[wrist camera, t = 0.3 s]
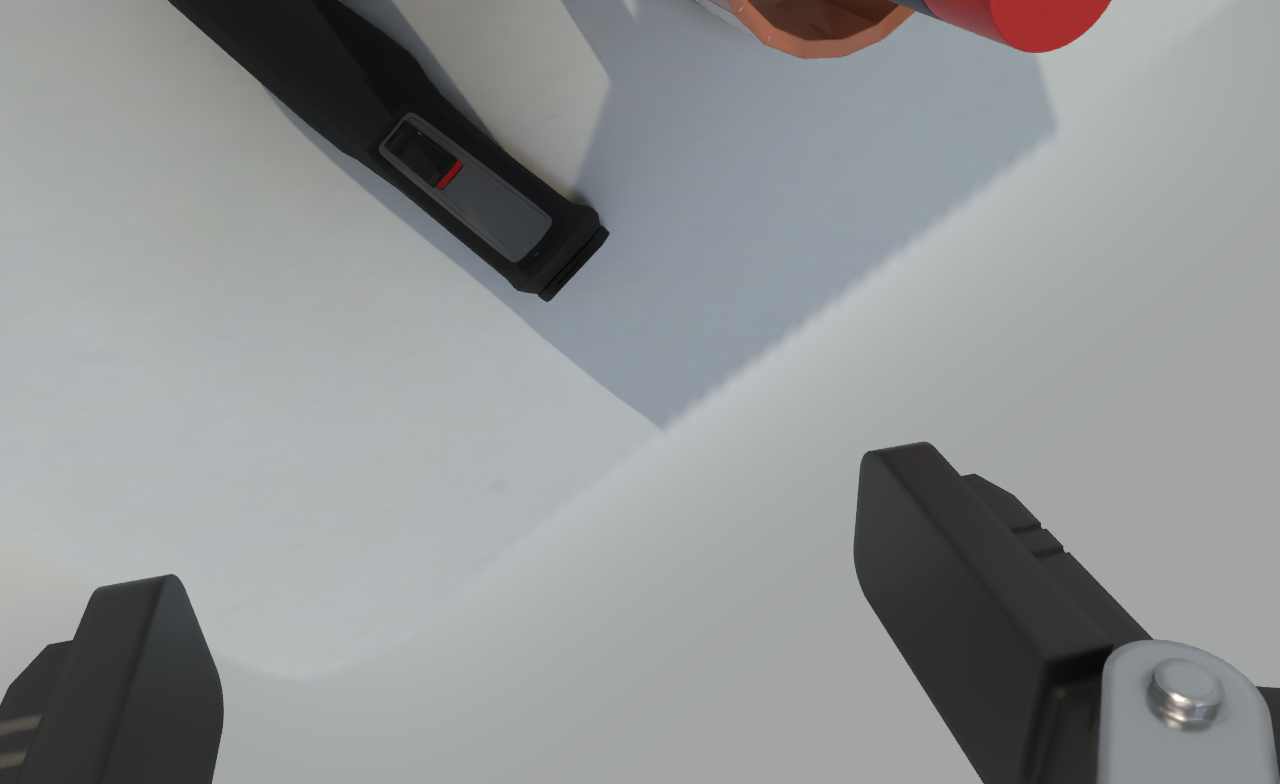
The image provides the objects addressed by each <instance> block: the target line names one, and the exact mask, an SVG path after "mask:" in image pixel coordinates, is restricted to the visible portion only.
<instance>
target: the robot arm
mask: <svg viewBox="0 0 1280 784" xmlns="http://www.w3.org/2000/svg"><path fill="white" fill-rule="evenodd" d="M854 562H855V568H856V573H857V576H858V580H859V583H860V586H861V588H862V591H863V593H864V595H865V597H866V599H867V600H868V602H869V604H870V605H871V607H872V608H873V610H874V611H875V613H876V615H877V616H878V618H879V619H880V621H881V623H882V624H883V626H884V627H885V629H886V630H887V632H888V634H889V635H890V637H891V638H892V640H893V641H894V643H895V644H896V646H897V648H898V649H899V651H900V652H901V654H902V656H903V657H904V659H905V660H906V662H907V663H908V665H909V666H910V668H911V670H912V671H913V673H914V674H915V676H916V678H917V679H918V681H919V682H920V684H921V686H922V687H923V689H924V690H925V692H926V693H927V695H928V697H929V698H930V700H931V701H932V703H933V704H934V706H935V708H936V709H937V711H938V712H939V714H940V715H941V717H942V719H943V720H944V722H945V723H946V725H947V726H948V728H949V730H950V731H951V733H952V734H953V736H954V737H955V739H956V741H957V742H958V744H959V745H960V747H961V749H962V750H963V752H964V753H965V755H966V756H967V758H968V760H969V761H970V763H971V764H972V766H973V767H974V769H975V771H976V772H977V774H978V775H979V777H980V778H981V780H982V782H983V783H984V784H1280V688H1270V687H1257V686H1255V685H1254V684H1253V683H1252V682H1251V681H1250V680H1249V679H1248V678H1247V677H1246V676H1245V675H1243V674H1242V673H1241V672H1240V671H1239V670H1237V669H1236V668H1235V667H1233V666H1232V665H1230V664H1229V663H1227V662H1226V661H1224V660H1222V659H1220V658H1219V657H1217V656H1215V655H1212V654H1211V653H1209V652H1206V651H1204V650H1201V649H1199V648H1196V647H1193V646H1190V645H1186V644H1182V643H1178V642H1173V641H1167V640H1154V639H1153V638H1151V636H1150V635H1149V634H1148V633H1147V632H1146V631H1145V630H1144V629H1143V628H1142V627H1141V626H1140V625H1139V624H1138V623H1137V622H1136V621H1135V620H1134V619H1133V618H1132V617H1131V616H1130V615H1129V614H1128V613H1127V612H1126V611H1125V609H1123V608H1122V606H1121V605H1120V604H1119V603H1118V602H1117V601H1116V600H1115V599H1114V598H1113V597H1112V596H1111V595H1110V594H1109V593H1108V592H1107V591H1106V590H1105V589H1104V588H1103V587H1102V586H1101V585H1100V584H1099V583H1098V582H1097V581H1096V580H1095V579H1094V577H1093V576H1092V575H1090V573H1089V572H1088V571H1087V570H1085V568H1084V567H1083V566H1082V565H1081V564H1080V563H1079V562H1078V561H1077V560H1076V559H1075V558H1074V557H1073V556H1072V555H1071V554H1070V553H1069V552H1068V553H1065V552H1064V550H1063V545H1061V543H1060V542H1059V541H1057V539H1056V538H1055V537H1054V536H1053V535H1052V534H1051V533H1050V532H1049V531H1048V530H1047V529H1042V528H1041V523H1040V522H1039V521H1038V520H1037V519H1036V518H1035V517H1034V516H1033V515H1032V514H1031V512H1030V511H1029V510H1028V509H1027V508H1026V507H1025V506H1024V505H1023V504H1022V503H1021V502H1020V501H1019V500H1018V499H1017V498H1016V497H1015V496H1014V495H1013V494H1011V493H1009V492H1007V491H1005V490H1004V489H1002V488H1000V487H998V486H996V485H994V484H993V483H991V482H989V481H987V480H985V479H984V478H982V477H980V476H978V475H976V474H971V475H966V476H960V475H959V473H958V472H957V471H956V470H955V469H954V468H953V467H952V466H951V465H950V464H949V462H948V461H947V460H946V459H945V458H944V457H943V456H942V455H941V454H940V453H939V452H938V451H937V449H936V448H935V447H934V446H933V445H931V444H930V443H928V442H919V443H913V444H907V445H901V446H896V447H890V448H885V449H879V450H874V451H868V452H867V453H866V454H865V455H864V456H863V458H862V461H861V466H860V476H859V488H858V500H857V512H856V524H855V536H854ZM223 711H224V707H223V694H222V687H221V682H220V678H219V674H218V671H217V668H216V666H215V663H214V661H213V658H212V656H211V653H210V651H209V648H208V646H207V643H206V641H205V638H204V636H203V633H202V631H201V628H200V626H199V623H198V621H197V618H196V615H195V613H194V610H193V608H192V605H191V603H190V600H189V598H188V595H187V593H186V590H185V588H184V586H183V584H182V582H181V581H180V579H179V578H178V577H177V576H175V575H173V574H170V575H164V576H158V577H153V578H147V579H142V580H136V581H130V582H125V583H119V584H114V585H108V586H102V587H99V588H97V589H96V590H95V591H94V592H93V594H92V596H91V598H90V600H89V602H88V605H87V607H86V610H85V612H84V615H83V617H82V619H81V622H80V624H79V627H78V629H77V632H76V634H75V636H74V639H73V640H71V641H65V642H60V643H55V644H50V645H47V646H46V647H45V648H44V650H43V651H42V652H41V653H40V654H39V655H38V656H37V657H36V658H35V659H34V660H33V661H32V662H31V663H30V664H29V666H28V667H27V668H26V669H25V670H24V671H23V672H22V673H21V674H20V675H19V676H18V677H17V678H16V679H15V680H14V681H13V683H12V684H11V685H10V686H9V688H8V690H7V692H6V694H5V696H4V698H3V701H2V703H1V705H0V784H212V779H213V774H214V769H215V764H216V759H217V754H218V748H219V743H220V739H221V734H222V728H223V715H224V712H223Z"/></svg>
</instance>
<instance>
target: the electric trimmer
mask: <svg viewBox="0 0 1280 784" xmlns="http://www.w3.org/2000/svg"><path fill="white" fill-rule="evenodd" d="M168 1H169V2H170V3H171V4H172V5H173V6H175V7H176V8H177V9H178V10H179V11H180V12H181V13H182V14H184V15H185V16H186V17H187V18H188V19H189V20H190V21H192V22H193V23H194V24H195V25H196V26H197V27H198V28H199V29H201V30H202V31H203V32H204V33H205V34H206V35H207V36H209V37H210V38H211V39H212V40H213V41H214V42H215V43H217V44H218V45H219V46H220V47H221V48H222V49H223V50H224V51H226V52H227V53H228V54H229V55H230V56H231V57H232V58H234V59H235V60H236V61H237V62H238V63H239V64H240V65H241V66H243V67H244V68H245V69H246V70H247V71H248V72H249V73H251V74H252V75H253V76H254V77H255V78H256V79H257V80H258V81H260V82H261V83H262V84H263V85H264V86H265V87H266V88H268V89H269V90H270V91H271V92H272V93H273V94H274V95H275V96H277V97H278V98H279V99H280V100H281V101H282V102H283V103H285V104H286V105H287V106H288V107H289V108H290V109H291V110H292V111H294V112H295V113H296V114H297V115H298V116H299V117H300V118H302V119H303V120H304V121H305V122H306V123H307V124H308V125H309V126H311V127H312V128H313V129H314V130H316V131H317V132H318V133H319V134H321V135H322V136H323V137H324V138H326V139H327V140H328V141H329V142H331V143H332V144H333V145H334V146H336V147H337V148H338V149H339V150H341V151H342V152H343V153H345V154H347V155H349V156H351V157H353V158H355V159H357V160H358V161H360V162H361V163H362V164H364V165H365V166H367V167H368V168H369V169H371V170H372V171H374V172H375V173H376V174H378V175H379V176H381V177H382V178H383V179H385V180H386V181H388V182H389V183H390V184H392V185H393V186H394V187H396V188H397V189H399V190H400V191H401V192H402V193H403V194H405V195H406V196H407V197H408V198H409V199H411V200H412V201H413V202H414V203H416V204H417V205H418V206H419V207H420V208H422V209H423V210H424V211H425V212H426V213H428V214H429V215H430V216H431V217H432V218H434V219H435V220H436V221H437V222H438V223H440V224H441V225H442V226H443V227H444V228H446V229H447V230H448V231H449V232H450V233H452V234H453V235H454V236H455V237H457V238H458V239H459V240H460V241H461V242H463V243H464V244H465V245H466V246H467V247H469V248H470V249H471V250H472V251H473V252H475V253H476V254H477V255H478V256H479V257H481V258H482V259H483V260H484V261H485V262H487V263H488V264H489V265H490V266H491V267H493V268H494V269H495V270H496V271H498V272H499V273H500V274H501V275H502V276H504V277H505V278H506V279H507V280H508V281H509V282H510V283H511V285H512V286H513V287H514V288H515V289H516V290H518V291H522V292H526V293H534V294H538V296H539V297H540V298H542V299H543V300H544V301H546V302H548V301H550V300H551V299H552V298H553V297H554V296H555V295H556V294H557V293H558V292H559V291H560V290H561V288H562V287H563V286H564V285H565V284H566V283H567V282H568V281H569V280H570V279H571V278H572V277H573V276H574V275H575V274H576V273H577V271H578V270H579V269H580V268H581V267H582V266H583V265H584V264H585V263H586V262H587V261H588V260H589V259H590V258H591V257H592V255H593V254H594V253H595V252H596V251H597V250H598V249H599V248H600V247H601V246H602V245H603V243H604V242H605V240H606V239H607V237H608V236H609V233H610V232H609V231H608V230H606V229H605V228H604V227H603V226H600V222H599V215H598V213H597V212H596V211H595V210H594V209H593V208H591V207H589V206H582V205H578V204H574V203H571V202H570V201H568V200H567V199H565V198H564V197H563V196H561V195H560V194H559V193H557V192H556V191H555V190H554V189H552V188H551V187H550V186H548V185H547V184H546V183H544V182H543V181H542V180H541V179H539V178H538V177H537V176H535V175H534V174H533V173H531V172H530V171H529V170H528V169H526V168H525V167H524V166H522V165H521V164H520V163H518V162H517V161H516V160H515V159H513V158H512V157H511V156H510V155H509V154H507V153H506V152H505V151H504V150H502V149H501V148H500V147H499V146H498V145H496V144H495V143H494V142H493V141H491V140H490V139H489V138H488V137H487V136H485V135H484V134H483V133H482V132H481V131H479V130H478V129H477V128H476V127H475V126H474V125H473V124H472V123H471V122H470V121H469V120H468V119H466V118H465V117H464V116H463V115H462V114H461V113H460V112H459V111H458V110H457V109H456V108H455V107H454V106H452V105H451V104H450V103H449V102H448V101H447V100H446V99H445V98H444V97H443V96H442V95H441V94H440V93H439V91H438V90H437V89H436V88H435V86H434V85H433V84H432V83H431V82H430V80H429V79H428V78H427V76H426V74H425V73H424V71H423V69H422V68H421V66H420V65H419V63H418V62H417V60H416V59H415V58H414V57H413V56H412V55H411V54H410V53H409V52H408V51H406V50H405V49H404V48H402V47H401V46H400V45H399V44H397V43H396V42H395V41H394V40H392V39H391V38H390V37H388V36H387V35H386V34H385V33H383V32H382V31H380V30H379V29H377V28H376V27H375V26H373V25H372V24H370V23H369V22H367V21H366V20H365V19H363V18H362V17H360V16H359V15H357V14H356V13H355V12H353V11H352V10H350V9H349V8H348V7H346V6H345V5H343V4H342V3H340V2H339V1H338V0H168Z"/></svg>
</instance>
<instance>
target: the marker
mask: <svg viewBox="0 0 1280 784" xmlns="http://www.w3.org/2000/svg"><path fill="white" fill-rule="evenodd" d="M889 1H891V2H894V3H897V4H899V5H902V6H904V7H907V8H910V9H912V10H915V11H918V12H920V13H923V14H926V15H928V16H931V17H933V18H936V19H939V20H941V21H944V22H947V23H949V24H952V25H955V26H957V27H960V28H962V29H965V30H968V31H970V32H973V33H976V34H978V35H981V36H984V37H986V38H989V39H991V40H994V41H997V42H999V43H1002V44H1005V45H1007V46H1010V47H1013V48H1015V49H1018V50H1021V51H1024V52H1030V53H1042V52H1048V51H1052V50H1055V49H1058V48H1061V47H1063V46H1065V45H1067V44H1069V43H1071V42H1072V41H1074V40H1076V39H1077V38H1079V37H1080V36H1081V35H1083V34H1084V33H1085V32H1086V31H1087V30H1088V29H1089V28H1090V27H1092V26H1093V24H1094V23H1095V22H1096V21H1097V20H1098V19H1099V18H1100V16H1101V15H1102V14H1103V12H1104V11H1105V10H1106V8H1107V7H1108V5H1109V3H1110V2H1111V0H889Z"/></svg>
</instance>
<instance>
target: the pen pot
mask: <svg viewBox="0 0 1280 784" xmlns="http://www.w3.org/2000/svg"><path fill="white" fill-rule="evenodd" d="M695 1H696V2H698V3H699V4H700V5H701V6H702V7H703V8H704V9H706V10H707V11H709V12H710V13H712V14H714V15H716V16H717V17H719V18H721V19H722V20H724V21H726V22H727V23H729V24H731V25H732V26H734V27H736V28H738V29H739V30H741V31H743V32H744V33H746V34H748V35H749V36H751V37H753V38H755V39H756V40H758V41H760V42H761V43H763V44H765V45H767V46H769V47H772V48H775V49H777V50H780V51H782V52H785V53H787V54H790V55H793V56H795V57H798V58H802V59H815V58H840V57H842V56H847V55H849V54H851V53H854V52H856V51H858V50H861V49H863V48H865V47H867V46H870V45H872V44H874V43H877V42H879V41H881V40H882V39H885V38H886V37H887V36H888V35H889V34H890V33H892V32H893V31H894V30H895V29H896V28H897V27H898V26H900V25H901V24H902V23H903V22H904V21H905V20H906V19H908V18H909V17H910V16H911V15H912V14H913V13H914V12H916V11H915V10H912V9H910V8H907V7H904V6H902V5H899V4H897V3H894V2H891V1H889V0H695Z"/></svg>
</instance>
